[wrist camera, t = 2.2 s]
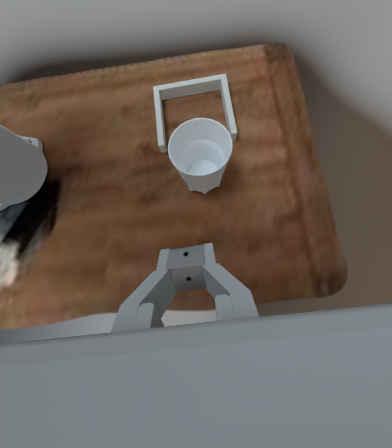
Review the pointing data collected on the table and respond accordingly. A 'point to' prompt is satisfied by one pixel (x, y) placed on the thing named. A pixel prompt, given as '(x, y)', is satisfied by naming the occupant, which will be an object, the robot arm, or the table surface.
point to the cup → (200, 153)
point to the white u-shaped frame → (190, 89)
